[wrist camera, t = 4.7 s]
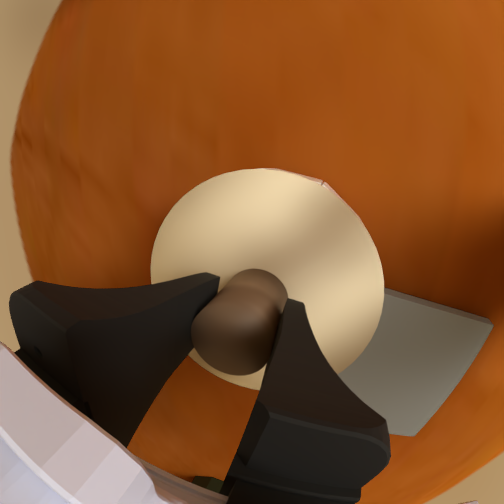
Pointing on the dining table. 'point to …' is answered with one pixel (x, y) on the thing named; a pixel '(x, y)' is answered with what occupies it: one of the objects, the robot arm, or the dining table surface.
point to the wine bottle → (208, 483)
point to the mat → (414, 359)
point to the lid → (271, 269)
